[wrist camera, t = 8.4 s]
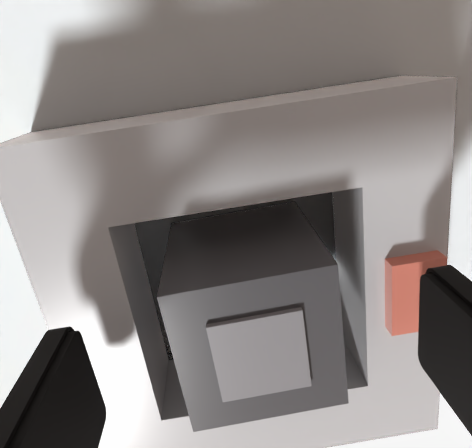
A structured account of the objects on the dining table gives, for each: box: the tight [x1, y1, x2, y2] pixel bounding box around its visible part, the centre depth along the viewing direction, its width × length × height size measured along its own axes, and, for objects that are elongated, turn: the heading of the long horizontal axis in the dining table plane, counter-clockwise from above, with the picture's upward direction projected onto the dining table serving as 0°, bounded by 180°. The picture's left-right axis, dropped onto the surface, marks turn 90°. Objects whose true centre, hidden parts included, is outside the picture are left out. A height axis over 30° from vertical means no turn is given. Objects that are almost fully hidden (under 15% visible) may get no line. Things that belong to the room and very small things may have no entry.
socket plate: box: [0, 75, 457, 448], centre depth 13 cm, size 12×12×4 cm
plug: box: [157, 201, 349, 432], centre depth 13 cm, size 4×4×5 cm
